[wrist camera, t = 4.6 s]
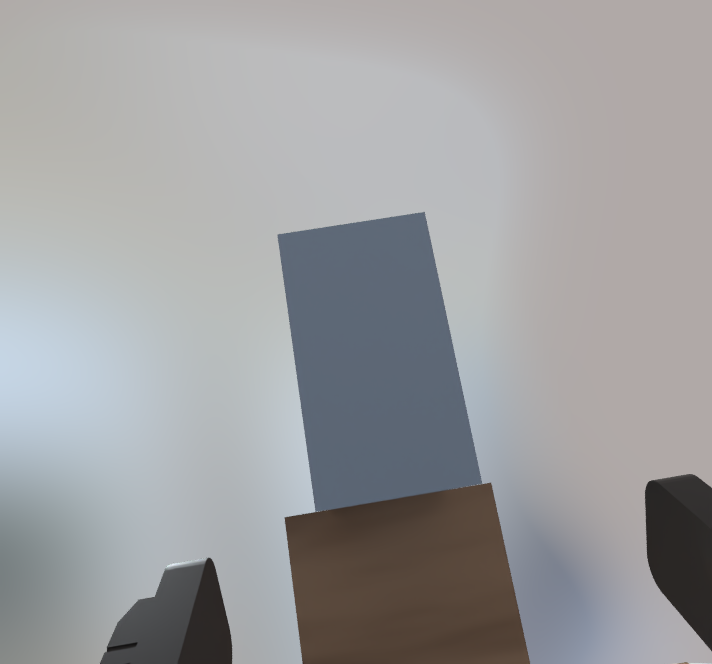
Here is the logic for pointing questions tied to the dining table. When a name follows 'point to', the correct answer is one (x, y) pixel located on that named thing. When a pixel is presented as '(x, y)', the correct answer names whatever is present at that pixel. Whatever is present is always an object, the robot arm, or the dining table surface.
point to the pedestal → (406, 582)
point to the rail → (375, 363)
